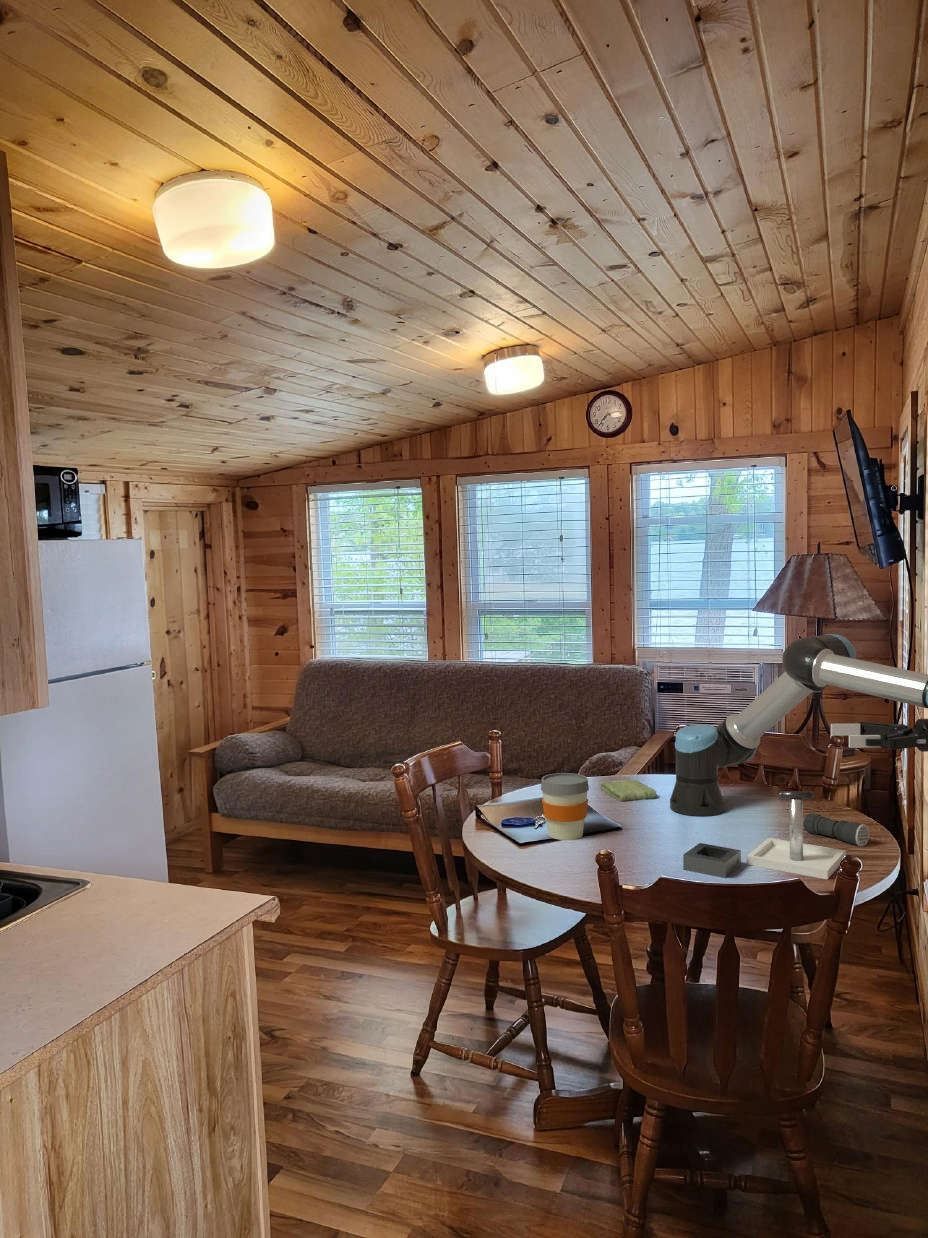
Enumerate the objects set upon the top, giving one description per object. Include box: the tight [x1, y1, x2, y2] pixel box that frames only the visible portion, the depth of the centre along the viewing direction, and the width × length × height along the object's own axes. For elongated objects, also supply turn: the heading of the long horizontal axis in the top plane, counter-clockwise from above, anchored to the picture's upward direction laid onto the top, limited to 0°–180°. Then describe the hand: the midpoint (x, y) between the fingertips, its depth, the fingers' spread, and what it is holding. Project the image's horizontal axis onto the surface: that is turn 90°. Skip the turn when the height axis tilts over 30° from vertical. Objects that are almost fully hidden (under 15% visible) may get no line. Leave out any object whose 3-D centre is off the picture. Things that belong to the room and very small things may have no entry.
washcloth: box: [599, 779, 658, 802], centre depth 269 cm, size 13×18×3 cm
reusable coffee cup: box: [540, 772, 589, 841], centre depth 230 cm, size 13×13×15 cm
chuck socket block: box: [682, 842, 742, 879], centre depth 203 cm, size 10×10×4 cm
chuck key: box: [777, 790, 815, 861], centre depth 205 cm, size 8×3×16 cm, turn 83°
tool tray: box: [746, 837, 847, 880], centre depth 205 cm, size 18×16×2 cm
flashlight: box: [803, 812, 870, 847], centre depth 221 cm, size 15×5×5 cm, turn 35°
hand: (839, 735), depth 202 cm, fingers open, 13 cm apart
